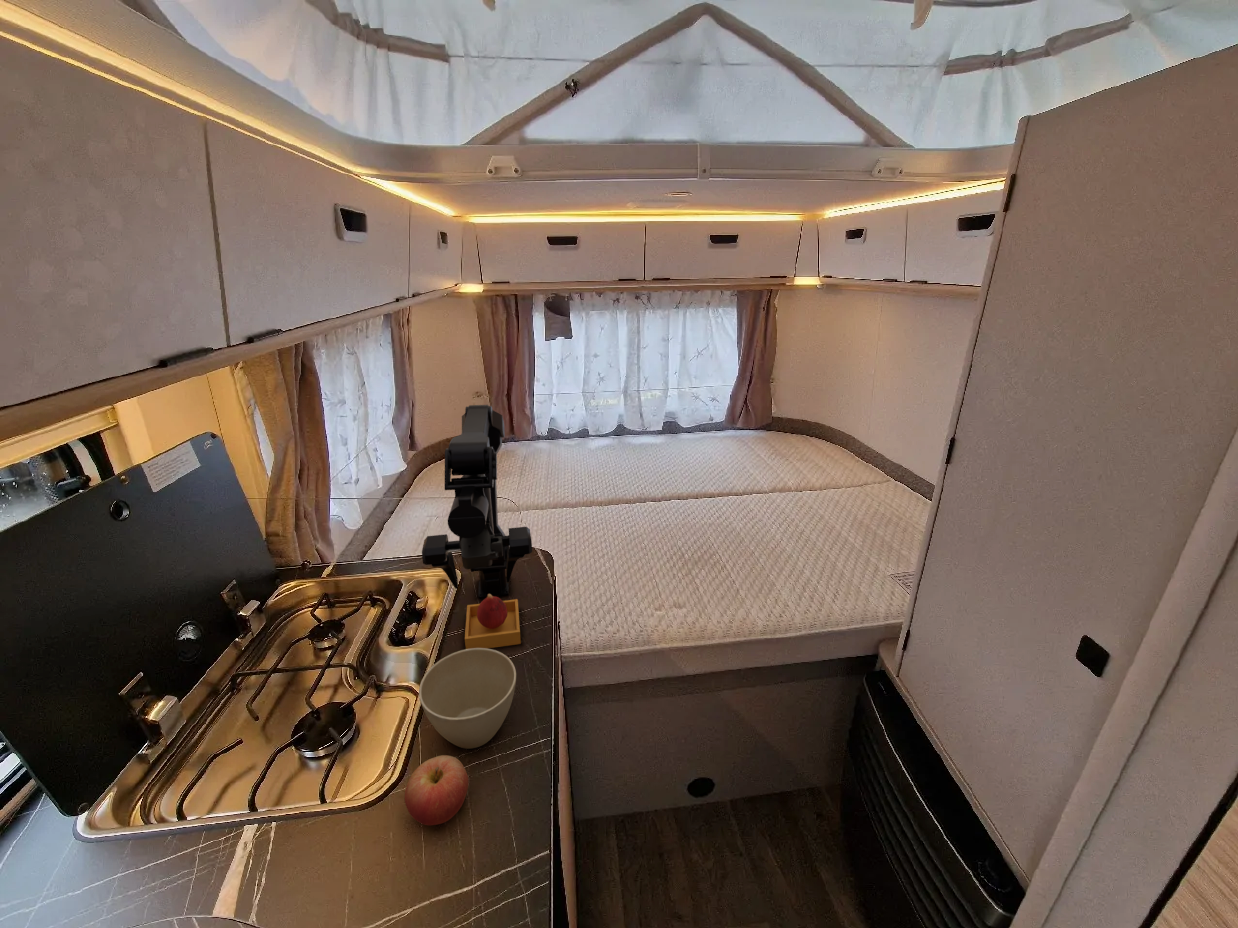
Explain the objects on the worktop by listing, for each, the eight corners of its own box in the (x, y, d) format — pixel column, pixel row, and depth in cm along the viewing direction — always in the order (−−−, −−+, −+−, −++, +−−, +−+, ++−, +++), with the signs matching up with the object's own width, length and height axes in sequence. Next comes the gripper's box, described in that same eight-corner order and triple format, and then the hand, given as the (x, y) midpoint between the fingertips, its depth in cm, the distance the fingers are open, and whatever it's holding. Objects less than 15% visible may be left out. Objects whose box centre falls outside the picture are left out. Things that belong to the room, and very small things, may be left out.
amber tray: (468, 616, 107) (467, 605, 106) (518, 610, 109) (517, 598, 108) (466, 651, 98) (464, 638, 97) (520, 643, 100) (519, 631, 99)
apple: (483, 796, 72) (478, 756, 69) (440, 850, 65) (432, 808, 62) (442, 770, 75) (435, 730, 72) (396, 818, 69) (387, 777, 66)
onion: (512, 619, 106) (509, 586, 103) (503, 638, 100) (500, 605, 97) (484, 617, 106) (481, 584, 103) (474, 636, 101) (470, 602, 98)
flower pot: (528, 750, 79) (525, 701, 75) (430, 783, 73) (421, 732, 70) (509, 683, 91) (506, 637, 87) (424, 708, 86) (416, 660, 82)
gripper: (412, 537, 81) (424, 618, 87) (532, 525, 85) (536, 604, 91) (420, 506, 91) (431, 581, 97) (527, 497, 95) (531, 569, 101)
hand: (482, 584), depth 96 cm, fingers open, 9 cm apart
